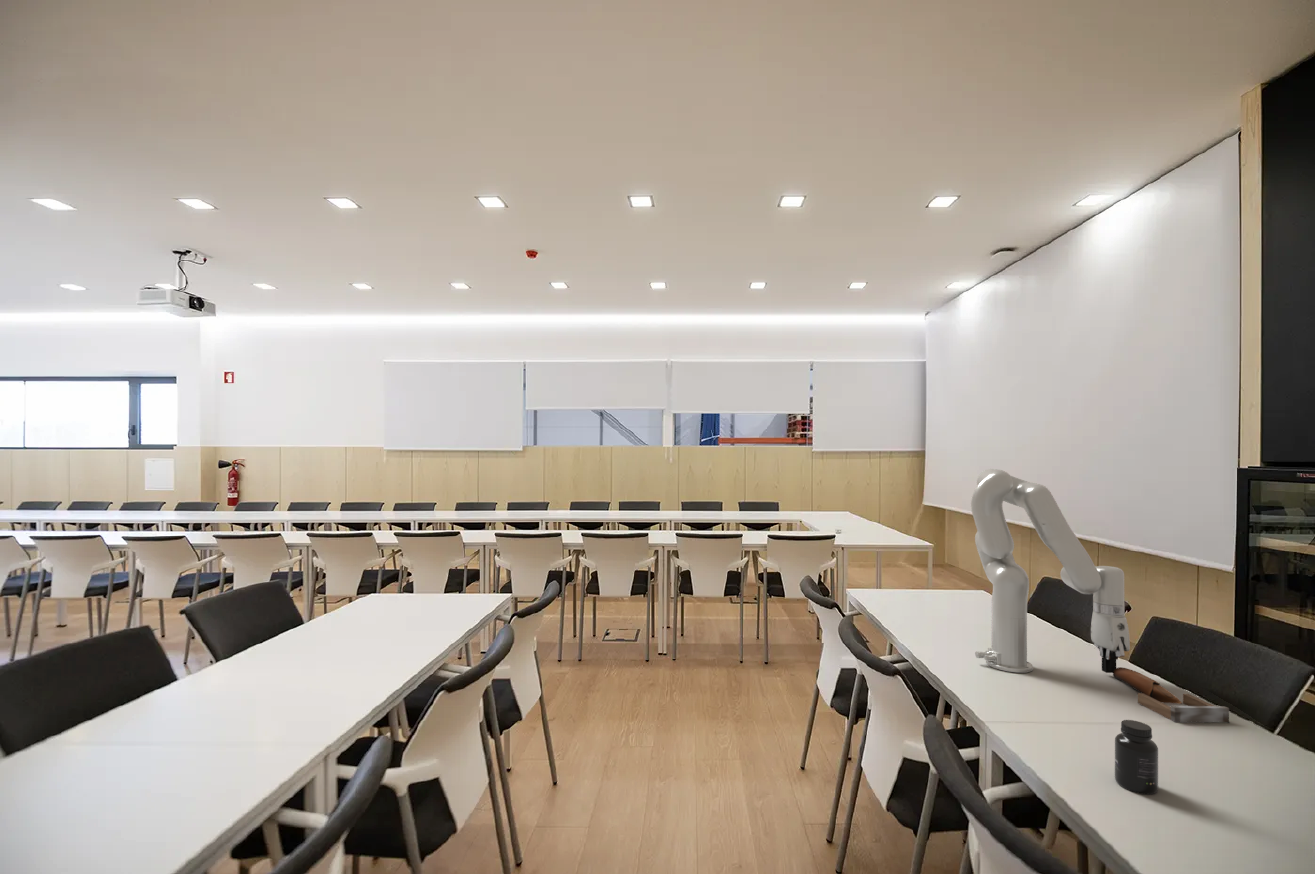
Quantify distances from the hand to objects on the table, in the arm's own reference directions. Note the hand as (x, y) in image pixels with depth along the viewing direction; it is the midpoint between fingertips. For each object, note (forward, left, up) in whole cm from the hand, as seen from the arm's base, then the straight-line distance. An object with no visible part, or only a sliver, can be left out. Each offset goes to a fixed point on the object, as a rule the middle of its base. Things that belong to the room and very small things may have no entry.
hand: (1109, 671), depth 186 cm
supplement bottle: (-39, -61, -2) cm, 73 cm away
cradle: (0, -25, -1) cm, 25 cm away
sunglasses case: (+3, -11, -2) cm, 11 cm away
